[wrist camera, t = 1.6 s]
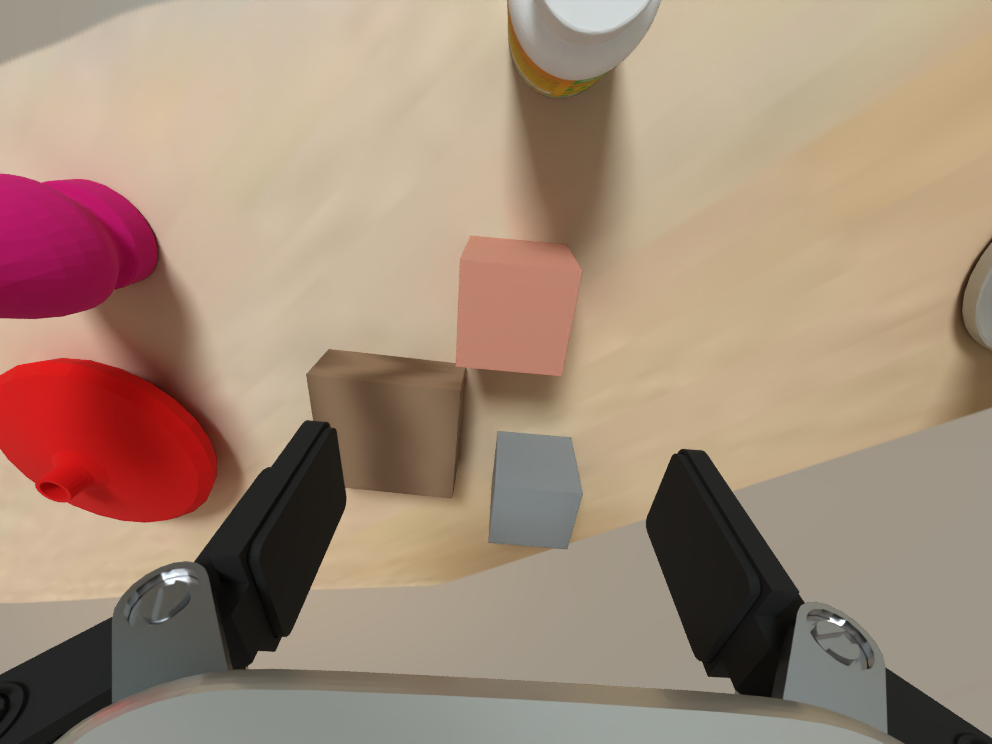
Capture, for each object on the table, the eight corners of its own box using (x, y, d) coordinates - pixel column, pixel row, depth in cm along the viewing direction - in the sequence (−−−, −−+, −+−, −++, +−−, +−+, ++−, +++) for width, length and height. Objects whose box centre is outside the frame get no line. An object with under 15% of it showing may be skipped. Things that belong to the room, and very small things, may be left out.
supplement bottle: (559, 124, 21) (591, 109, 13) (485, 37, 19) (466, -47, 11) (641, 28, 19) (744, -66, 11) (566, -79, 17) (619, -293, 9)
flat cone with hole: (272, 474, 35) (222, 543, 29) (133, 507, 38) (61, 576, 32) (144, 316, 28) (41, 365, 22) (-16, 372, 31) (-147, 429, 24)
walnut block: (466, 362, 29) (460, 391, 26) (457, 462, 34) (452, 498, 31) (330, 347, 29) (306, 374, 25) (342, 450, 34) (323, 485, 30)
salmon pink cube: (567, 244, 24) (582, 271, 19) (551, 332, 27) (561, 376, 22) (470, 235, 24) (460, 259, 19) (466, 324, 27) (455, 366, 22)
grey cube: (571, 436, 32) (582, 493, 27) (558, 489, 35) (567, 549, 30) (497, 430, 32) (495, 485, 27) (491, 483, 35) (488, 542, 30)
